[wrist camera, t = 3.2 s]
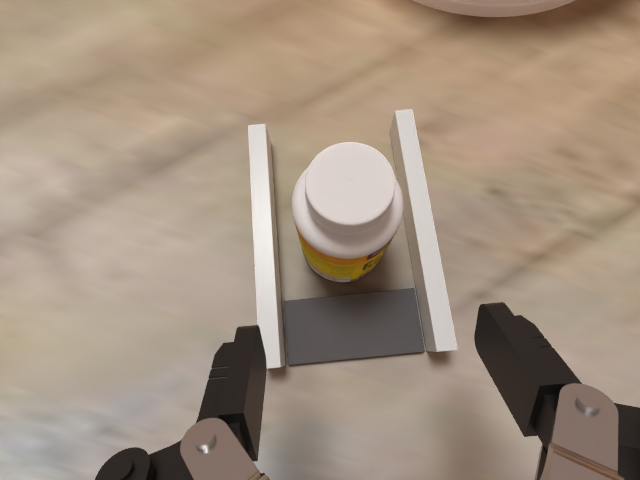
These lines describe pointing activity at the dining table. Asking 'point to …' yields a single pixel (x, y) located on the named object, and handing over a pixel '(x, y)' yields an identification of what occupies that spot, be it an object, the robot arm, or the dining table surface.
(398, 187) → the supplement bottle
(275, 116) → the dining table surface
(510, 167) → the dining table surface
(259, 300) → the trap channel
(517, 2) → the plate stack
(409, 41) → the dining table surface
